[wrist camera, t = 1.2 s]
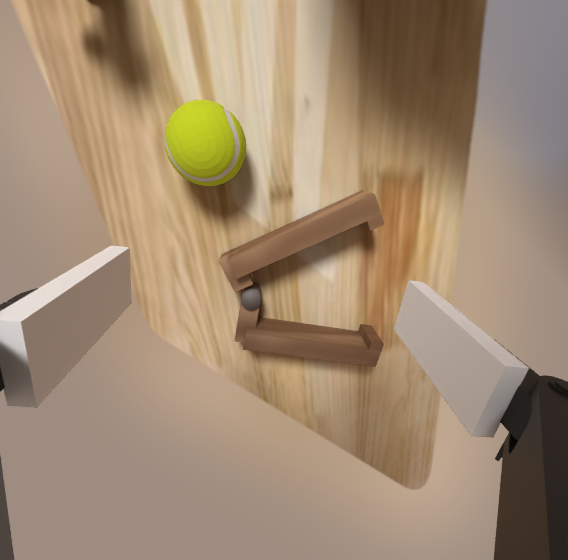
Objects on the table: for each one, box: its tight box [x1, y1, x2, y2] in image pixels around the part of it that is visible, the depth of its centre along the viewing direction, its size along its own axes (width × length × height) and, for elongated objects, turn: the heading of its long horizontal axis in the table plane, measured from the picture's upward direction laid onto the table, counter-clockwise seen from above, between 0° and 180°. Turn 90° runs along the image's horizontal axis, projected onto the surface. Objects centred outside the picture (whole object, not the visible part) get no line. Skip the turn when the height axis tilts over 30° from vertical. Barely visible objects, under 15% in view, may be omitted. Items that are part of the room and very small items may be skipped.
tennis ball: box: [165, 100, 246, 186], centre depth 27 cm, size 7×7×7 cm
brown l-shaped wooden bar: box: [235, 282, 383, 367], centre depth 35 cm, size 6×16×4 cm, turn 79°
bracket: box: [219, 191, 384, 292], centre depth 31 cm, size 4×16×4 cm, turn 114°
